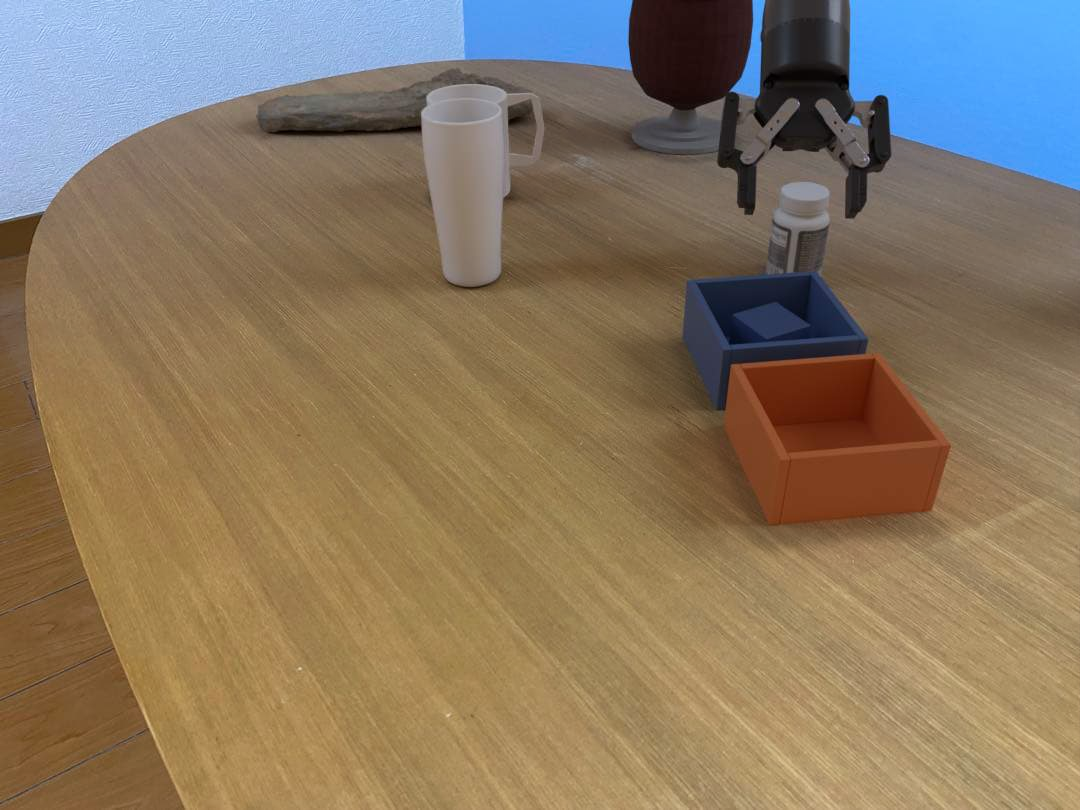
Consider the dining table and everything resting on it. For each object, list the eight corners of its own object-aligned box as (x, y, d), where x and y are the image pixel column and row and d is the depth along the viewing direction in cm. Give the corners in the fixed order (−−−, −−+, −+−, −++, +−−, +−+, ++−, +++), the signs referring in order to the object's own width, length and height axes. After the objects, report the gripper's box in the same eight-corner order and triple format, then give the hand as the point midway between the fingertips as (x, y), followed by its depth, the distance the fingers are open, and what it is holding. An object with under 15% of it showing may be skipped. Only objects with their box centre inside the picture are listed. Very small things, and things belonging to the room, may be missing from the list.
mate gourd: (666, 165, 106) (678, -27, 94) (603, 129, 116) (607, -48, 104) (775, 141, 112) (799, -43, 100) (706, 109, 122) (721, -61, 110)
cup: (548, 201, 98) (547, 105, 92) (433, 206, 98) (425, 110, 92) (542, 172, 105) (541, 81, 99) (434, 177, 104) (427, 85, 98)
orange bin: (864, 420, 66) (879, 352, 63) (930, 517, 57) (951, 444, 54) (722, 432, 65) (730, 363, 62) (768, 532, 57) (780, 459, 53)
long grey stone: (269, 124, 124) (258, 155, 116) (258, 84, 120) (246, 113, 113) (532, 97, 125) (539, 126, 117) (529, 57, 121) (536, 84, 114)
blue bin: (805, 333, 76) (816, 270, 72) (854, 405, 67) (869, 338, 64) (681, 342, 75) (686, 279, 71) (715, 416, 66) (723, 349, 63)
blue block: (769, 346, 73) (775, 301, 70) (803, 371, 70) (811, 325, 68) (726, 359, 71) (732, 313, 69) (759, 385, 68) (766, 338, 66)
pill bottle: (822, 272, 84) (837, 183, 79) (816, 296, 80) (832, 204, 76) (768, 264, 85) (780, 176, 81) (760, 288, 82) (772, 197, 77)
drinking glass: (424, 289, 83) (407, 121, 74) (448, 256, 88) (435, 95, 79) (498, 297, 81) (489, 126, 73) (518, 262, 87) (512, 99, 78)
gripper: (727, 13, 80) (720, 194, 77) (900, 15, 78) (899, 199, 75) (719, 60, 87) (712, 226, 84) (877, 62, 85) (875, 232, 83)
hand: (800, 213), depth 80 cm, fingers open, 8 cm apart
